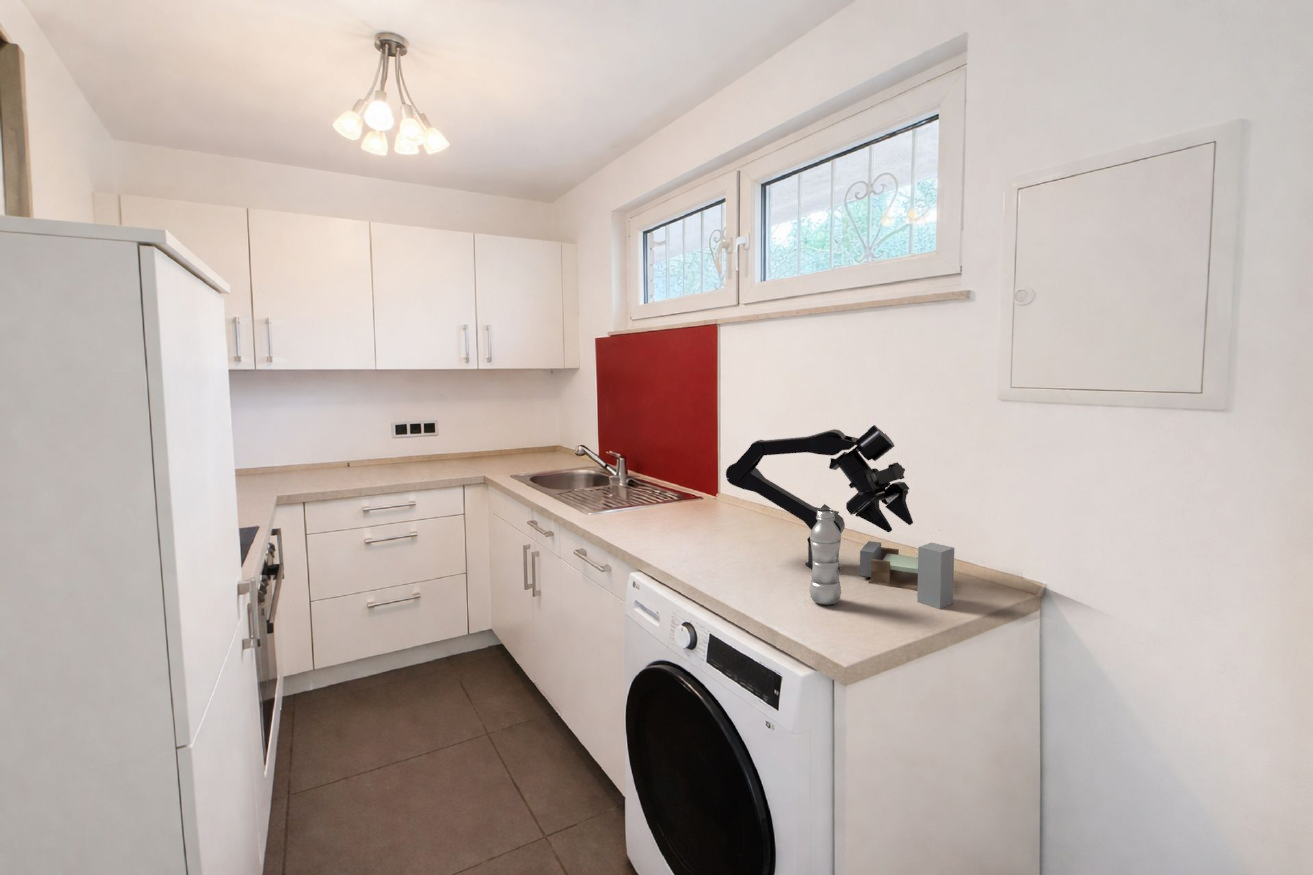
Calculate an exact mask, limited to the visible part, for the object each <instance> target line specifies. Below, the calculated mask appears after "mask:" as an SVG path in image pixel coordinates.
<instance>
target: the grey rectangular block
mask: <svg viewBox="0 0 1313 875" xmlns="http://www.w3.org/2000/svg"><path fill="white" fill-rule="evenodd" d="M917 550H918V554H917V557H918V590H916V591H917V594H916V595H917V598H916V599H917V603H919V604H922V605H926V606H928V607H932V608H934V609H938V610H942V609H944V608H946V607H948V606H949V605H953V604H954V576H955V574H954V573H955V572H954V571H955V570H954V569H955V547H952V546H948V545H944V544H940V543H936V542H930V543H927V544H923V545H921V546H918V549H917Z"/></svg>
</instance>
